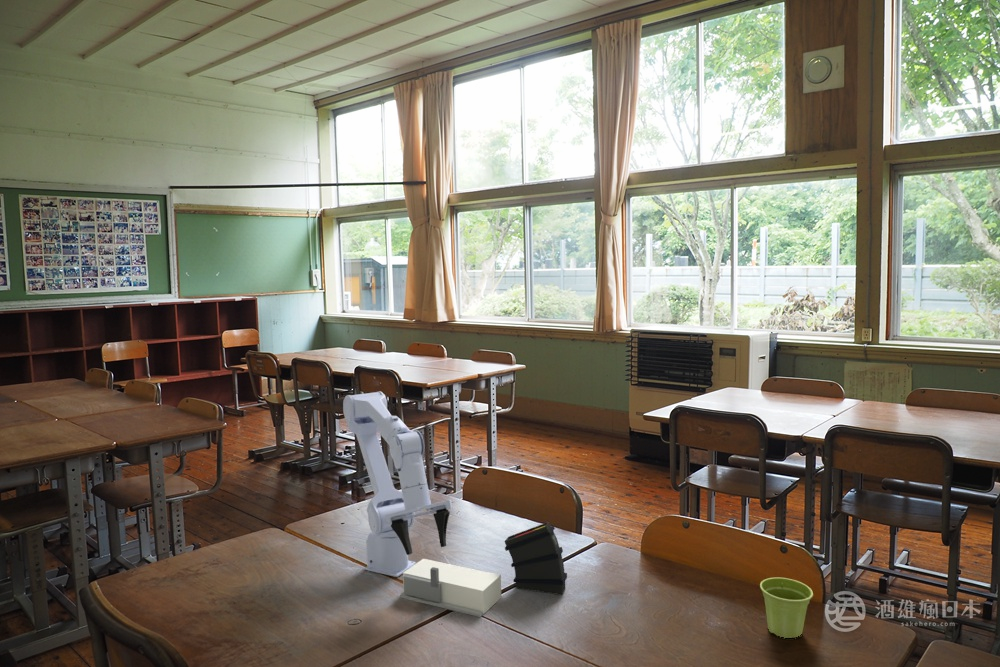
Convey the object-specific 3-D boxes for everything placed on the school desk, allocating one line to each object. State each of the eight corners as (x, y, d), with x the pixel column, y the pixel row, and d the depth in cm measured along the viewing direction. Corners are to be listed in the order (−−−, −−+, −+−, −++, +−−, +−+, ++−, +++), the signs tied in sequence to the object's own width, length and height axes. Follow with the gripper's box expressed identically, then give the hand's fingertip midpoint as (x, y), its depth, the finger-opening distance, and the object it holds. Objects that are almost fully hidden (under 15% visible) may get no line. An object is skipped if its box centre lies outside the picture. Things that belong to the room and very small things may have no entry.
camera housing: (399, 597, 149) (399, 575, 149) (423, 579, 157) (423, 558, 157) (480, 617, 140) (479, 593, 139) (501, 597, 148) (500, 575, 148)
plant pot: (806, 621, 136) (807, 579, 135) (816, 647, 127) (818, 602, 126) (756, 616, 138) (756, 575, 137) (763, 641, 129) (763, 597, 128)
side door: (402, 594, 148) (401, 562, 148) (406, 592, 149) (405, 560, 149) (438, 603, 144) (437, 570, 143) (441, 600, 145) (440, 568, 145)
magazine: (576, 590, 147) (546, 526, 148) (524, 607, 151) (495, 545, 152) (580, 583, 150) (551, 520, 151) (529, 600, 155) (501, 539, 156)
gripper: (377, 494, 147) (388, 559, 144) (441, 479, 145) (455, 544, 142) (387, 494, 154) (398, 555, 150) (449, 479, 152) (461, 541, 149)
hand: (426, 550), depth 147 cm, fingers open, 7 cm apart
